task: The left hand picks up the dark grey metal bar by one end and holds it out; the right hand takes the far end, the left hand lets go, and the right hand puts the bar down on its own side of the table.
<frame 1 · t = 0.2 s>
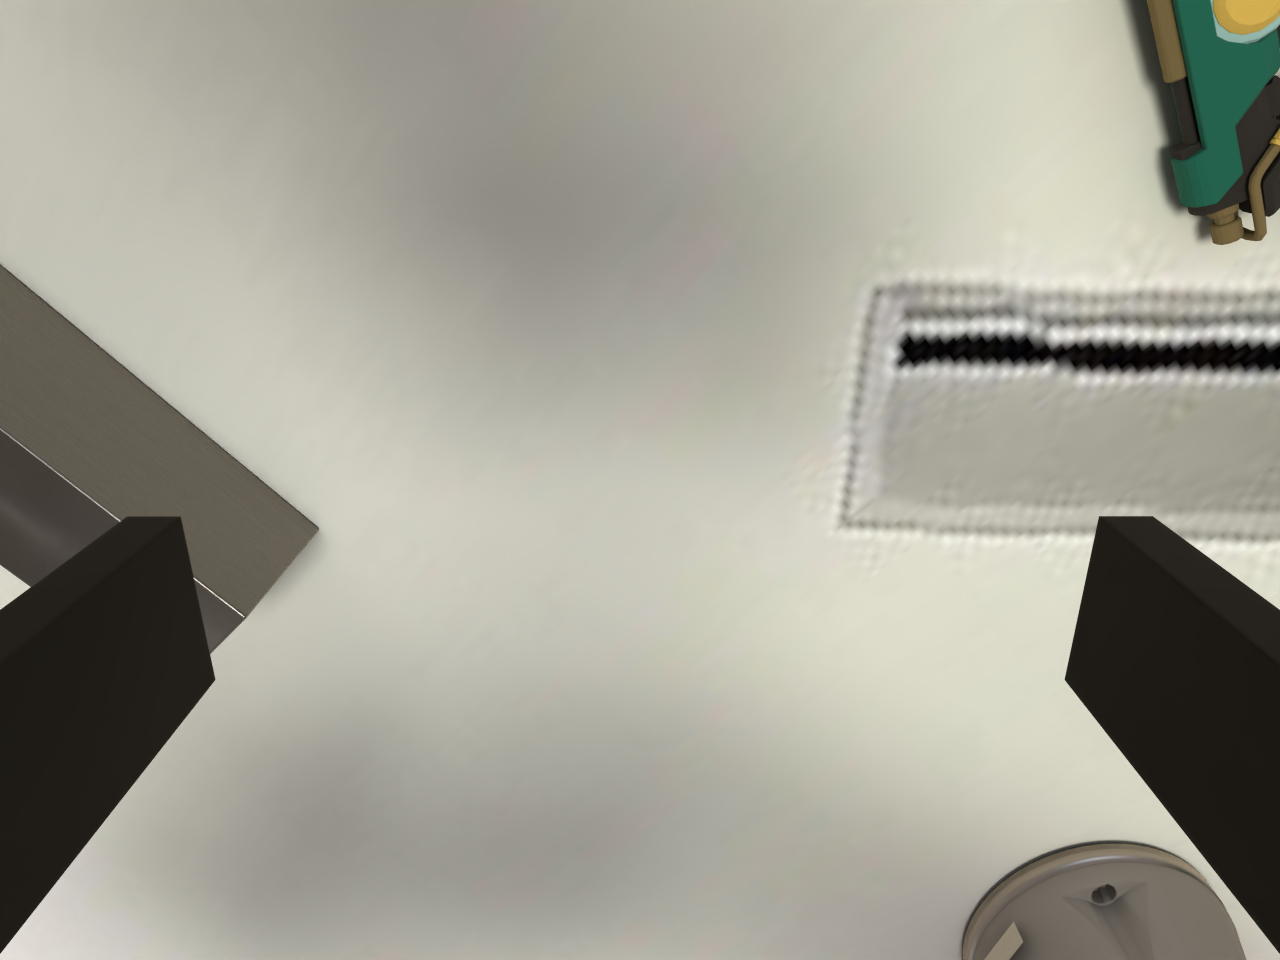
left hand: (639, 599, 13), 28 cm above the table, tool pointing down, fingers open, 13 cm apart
spray gun: (1270, 18, 35), on the table
bar: (60, 377, 40), on the table
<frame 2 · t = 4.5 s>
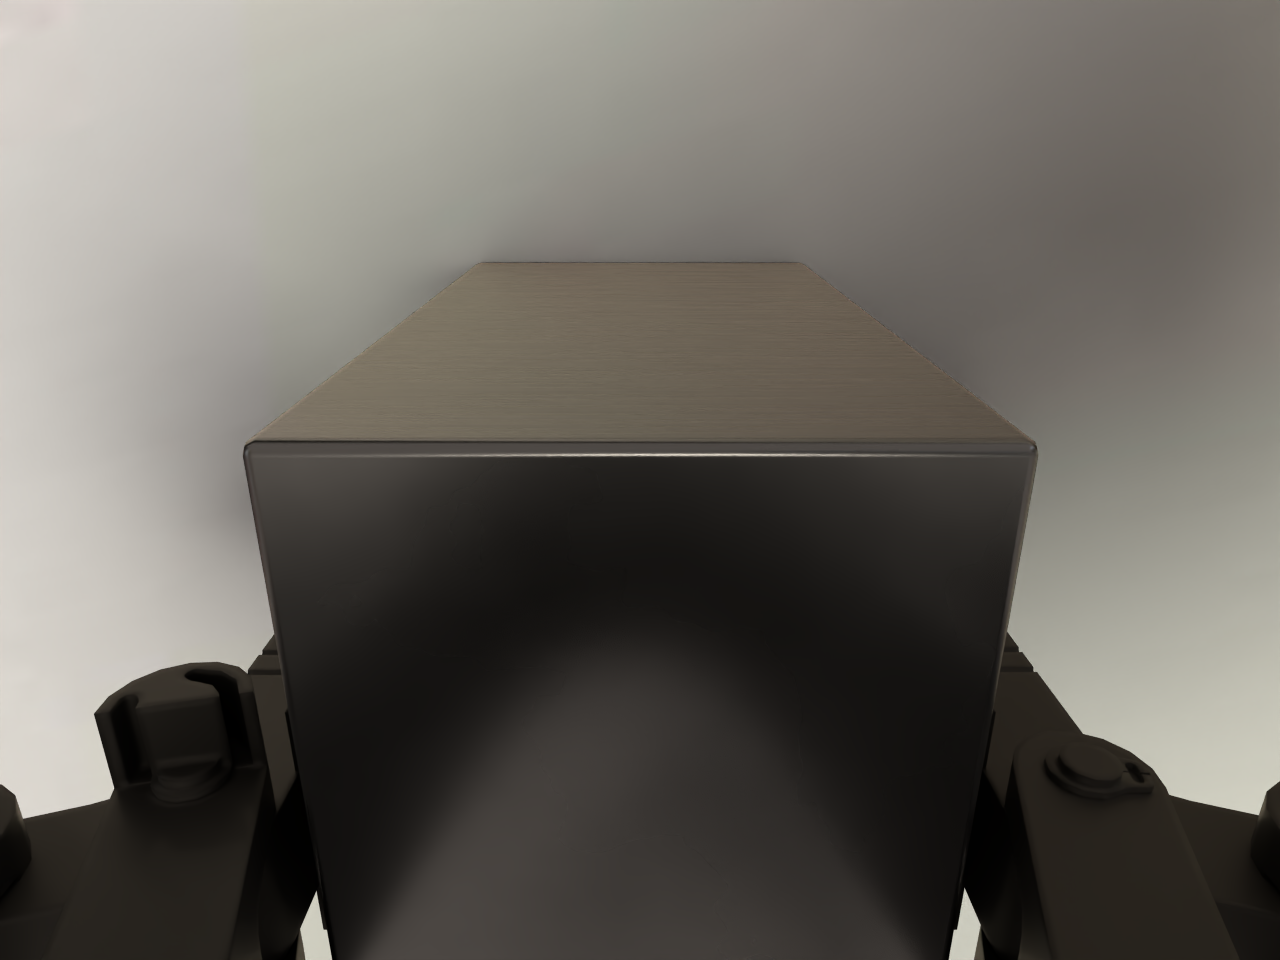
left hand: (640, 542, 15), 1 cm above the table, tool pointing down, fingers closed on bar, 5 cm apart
bar: (640, 903, 18), on the table, touching left hand
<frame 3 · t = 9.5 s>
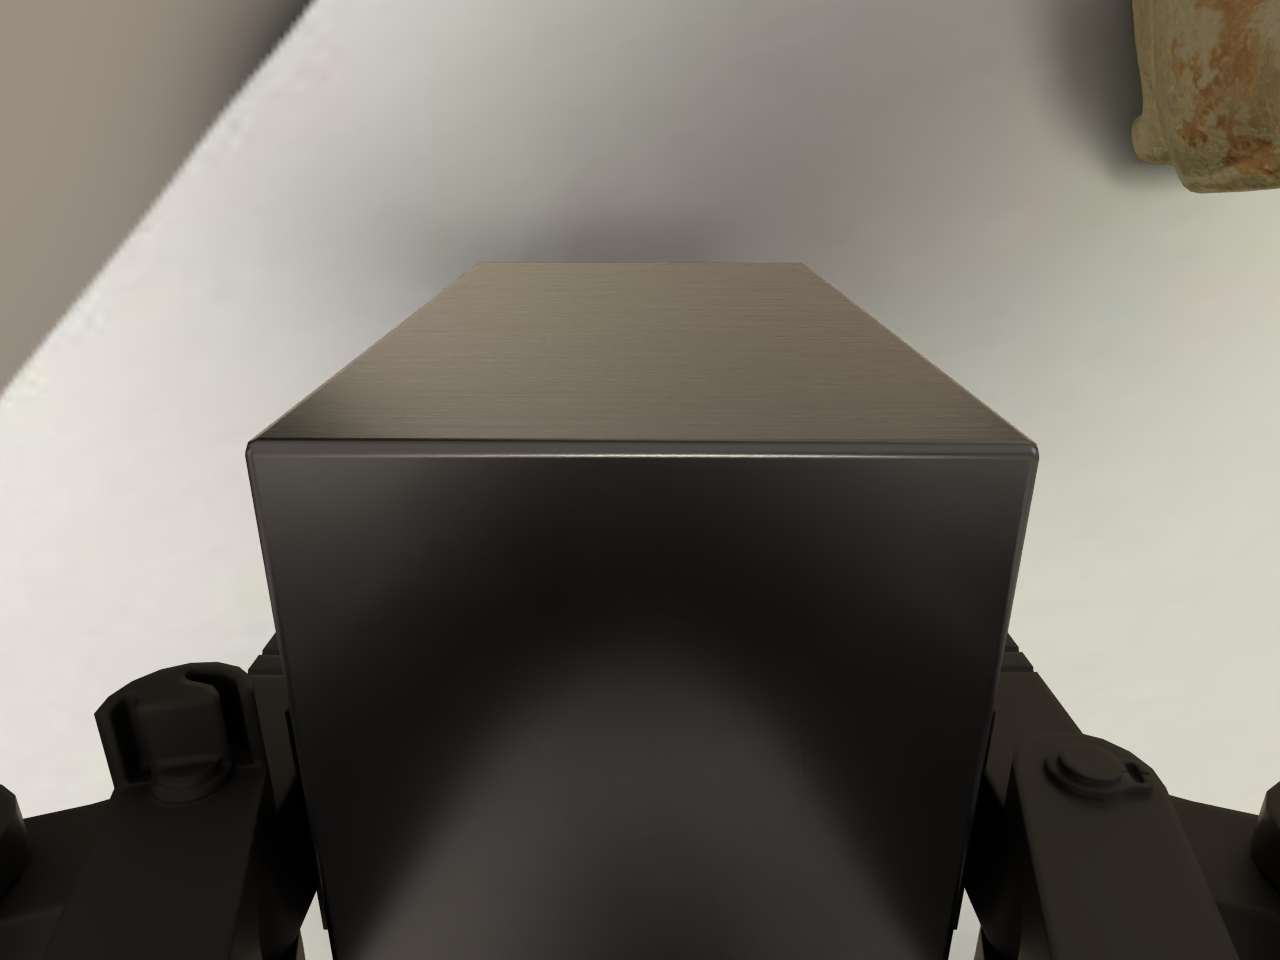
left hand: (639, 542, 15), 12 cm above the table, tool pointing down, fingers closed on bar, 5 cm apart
sculpture: (1192, 42, 23), on the table
bar: (639, 902, 18), point 12 cm above the table, touching left hand, right hand
when the left hand's fingers open (12 cm above the table, at t = 10.2 s): bar stays where it is, held by the right hand.
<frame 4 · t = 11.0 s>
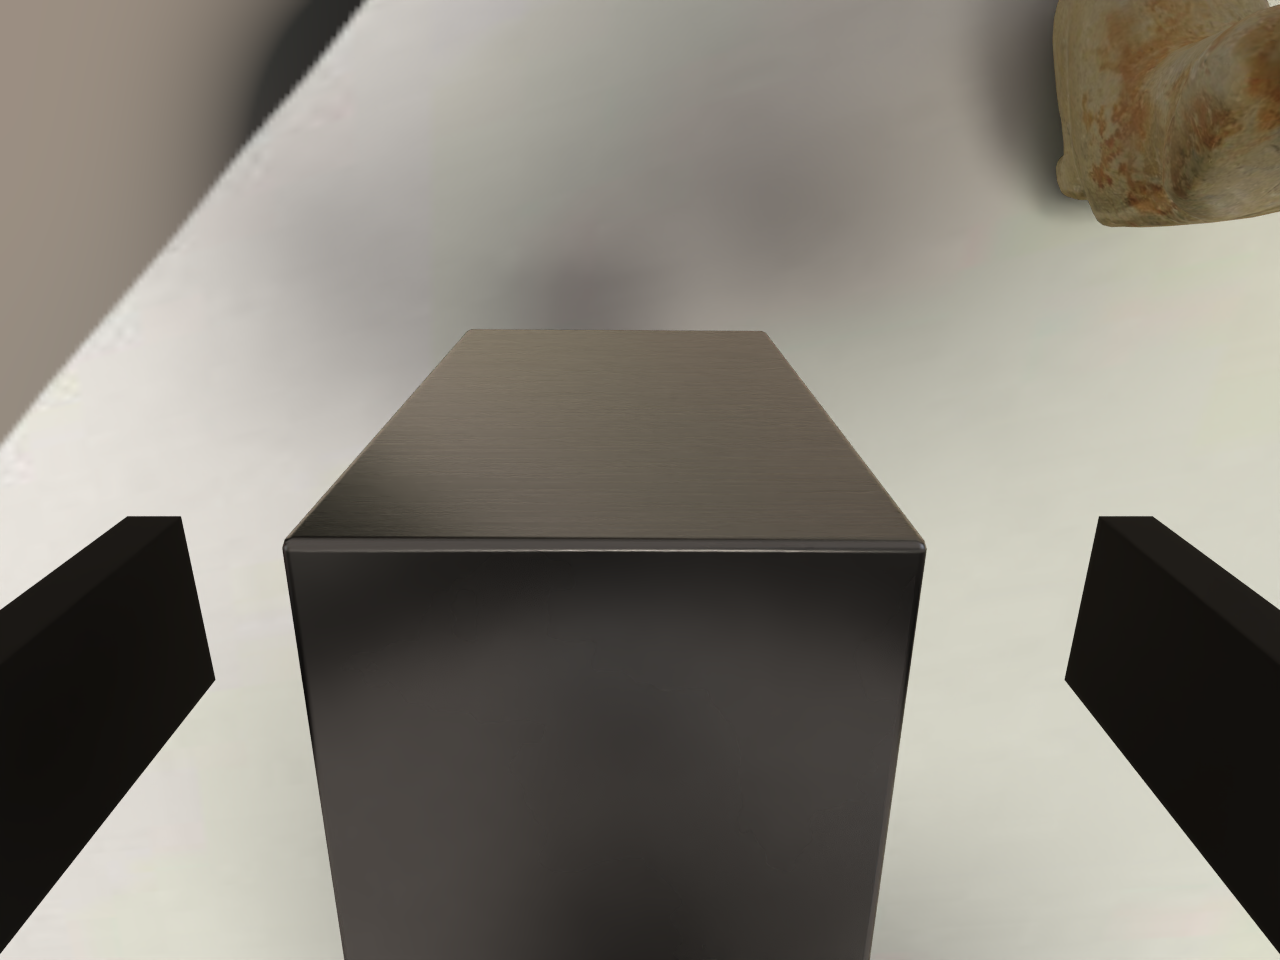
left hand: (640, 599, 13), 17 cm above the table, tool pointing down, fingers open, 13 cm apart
sculpture: (1109, 91, 26), on the table
bar: (617, 915, 19), point 14 cm above the table, touching right hand
when the right hand's fingers open (2 cm above the table, at t = 17.4 s): bar drops 2 cm, on the table.
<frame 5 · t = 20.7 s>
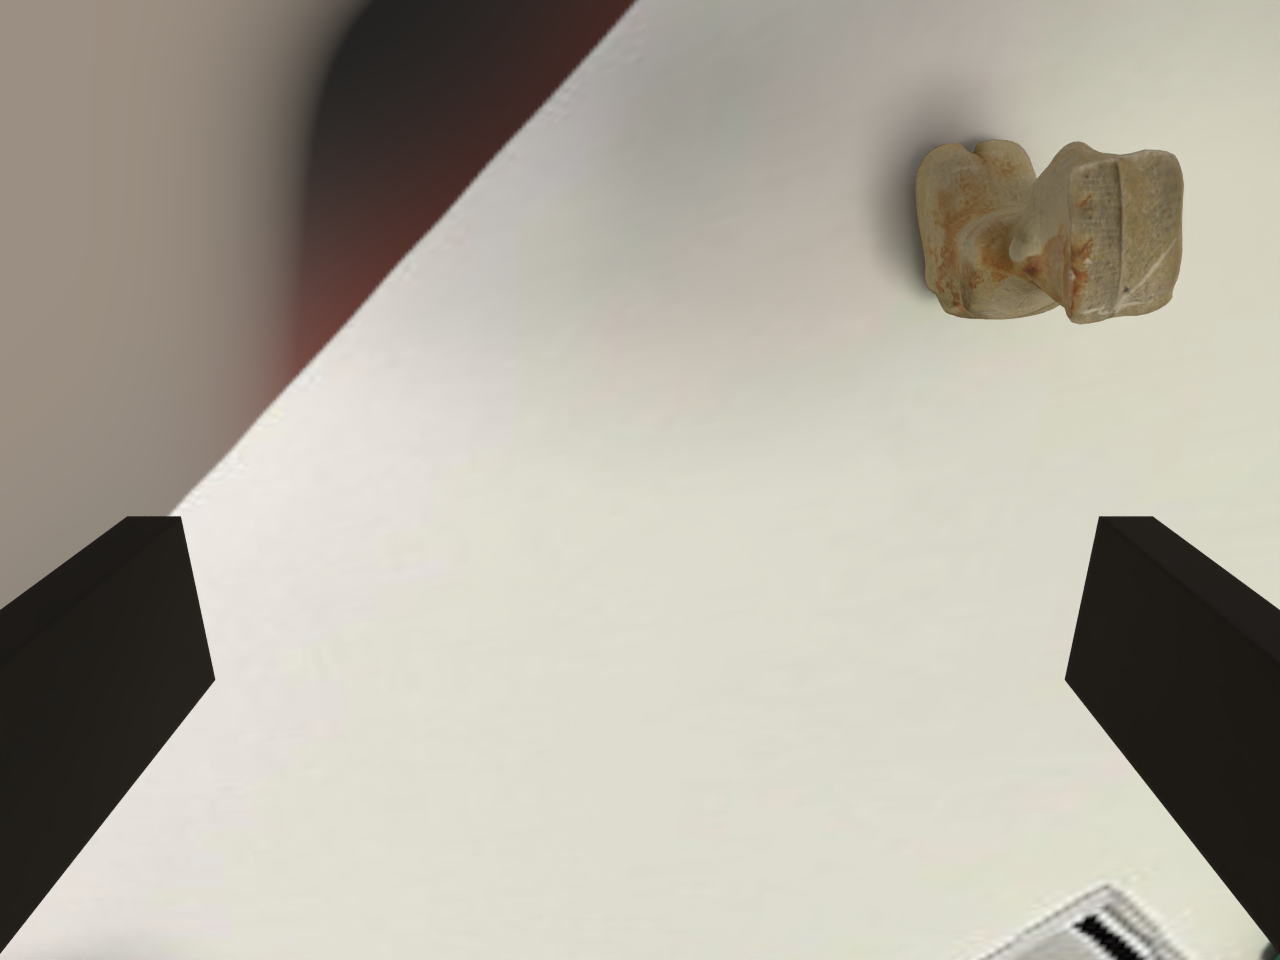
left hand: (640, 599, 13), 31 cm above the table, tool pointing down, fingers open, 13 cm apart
sculpture: (957, 223, 40), on the table
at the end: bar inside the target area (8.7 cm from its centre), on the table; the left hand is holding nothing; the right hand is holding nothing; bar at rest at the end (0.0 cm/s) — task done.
